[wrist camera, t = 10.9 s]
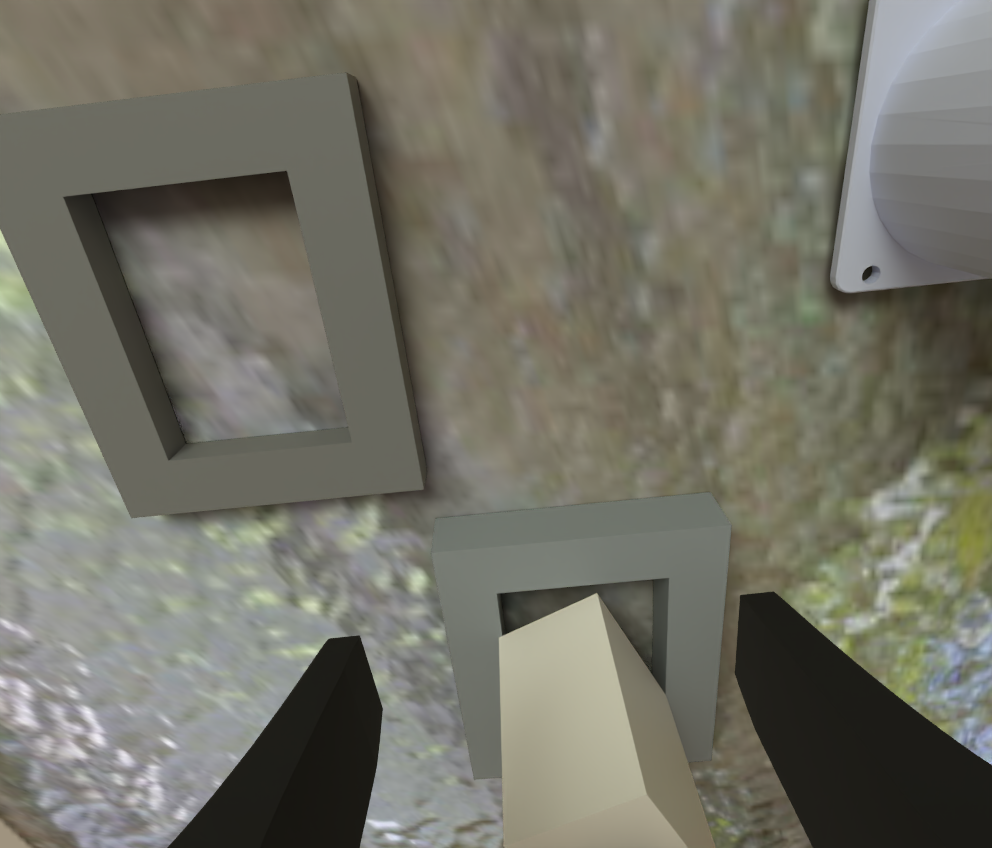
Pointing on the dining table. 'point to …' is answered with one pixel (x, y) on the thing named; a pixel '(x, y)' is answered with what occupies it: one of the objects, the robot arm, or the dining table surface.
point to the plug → (590, 741)
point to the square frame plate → (114, 322)
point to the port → (578, 562)
